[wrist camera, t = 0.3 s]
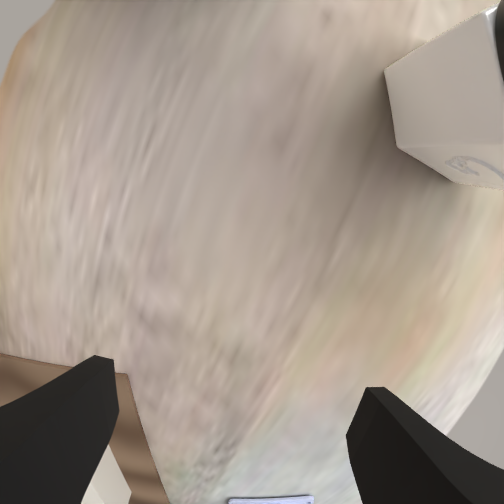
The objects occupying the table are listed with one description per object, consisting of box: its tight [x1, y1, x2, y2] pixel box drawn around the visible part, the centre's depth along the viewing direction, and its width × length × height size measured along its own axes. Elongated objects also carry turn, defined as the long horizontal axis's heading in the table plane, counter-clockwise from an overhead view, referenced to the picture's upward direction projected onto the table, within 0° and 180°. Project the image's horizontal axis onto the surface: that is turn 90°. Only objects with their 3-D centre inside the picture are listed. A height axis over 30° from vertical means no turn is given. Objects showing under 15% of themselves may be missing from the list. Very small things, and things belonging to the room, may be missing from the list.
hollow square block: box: [81, 444, 132, 504], centre depth 20 cm, size 9×9×5 cm
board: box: [0, 353, 170, 504], centre depth 22 cm, size 22×16×1 cm
